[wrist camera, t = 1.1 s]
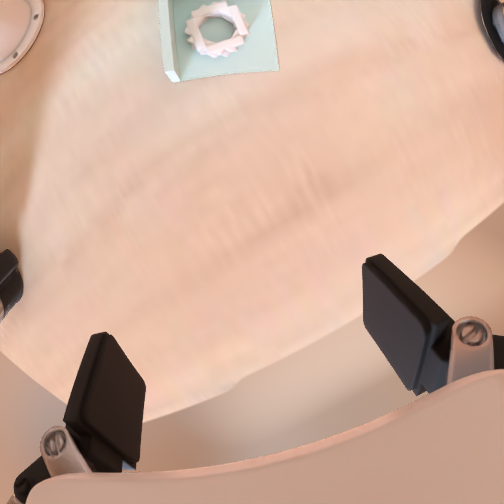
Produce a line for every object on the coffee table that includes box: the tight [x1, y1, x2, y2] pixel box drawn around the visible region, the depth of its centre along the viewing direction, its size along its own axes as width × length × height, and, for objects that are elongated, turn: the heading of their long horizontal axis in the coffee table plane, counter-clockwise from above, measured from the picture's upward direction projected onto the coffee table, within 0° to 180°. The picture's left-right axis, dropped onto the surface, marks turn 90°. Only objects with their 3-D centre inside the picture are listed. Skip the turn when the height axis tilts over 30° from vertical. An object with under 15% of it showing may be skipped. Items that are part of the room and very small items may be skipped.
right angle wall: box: [158, 0, 279, 83], centre depth 22 cm, size 12×12×8 cm
